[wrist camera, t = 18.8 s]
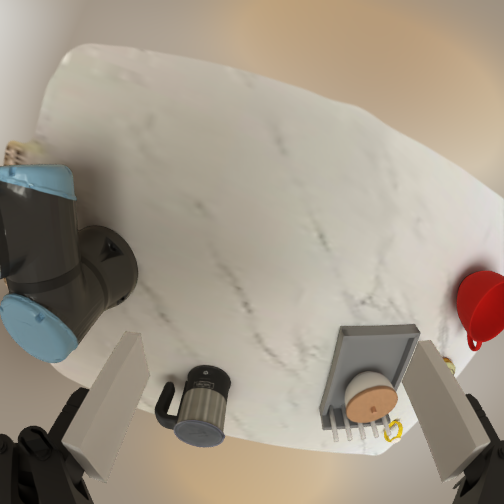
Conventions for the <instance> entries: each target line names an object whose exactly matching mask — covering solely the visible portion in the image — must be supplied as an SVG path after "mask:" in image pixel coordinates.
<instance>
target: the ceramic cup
mask: <svg viewBox="0 0 504 504" xmlns="http://www.w3.org/2000/svg"><path fill="white" fill-rule="evenodd" d="M457 311H458V315H459V318H460V320H461V322H462V324H463V326H464V328H465V330H466V331H467V340H468V345H469V347H470V349H471V350H472V351H477V350H479V349H480V347H481V345H482V342H486V341H489V340H491V339H492V338H494V337H496V336H497V335H498V334H499V333H500V332H501V331H502V330H503V329H504V276H502V275H500V274H498V273H495V272H493V271H479V272H475V273H473V274H471V275H469V276H467V277H466V278H465V279H464V280H463V281H462V283H461V284H460V286H459V289H458V295H457ZM473 340H474V341H476V342H477V345H476V347H475V346H474V343H473Z"/></svg>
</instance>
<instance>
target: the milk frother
mask: <svg viewBox="0 0 504 504" xmlns="http://www.w3.org/2000/svg"><path fill="white" fill-rule="evenodd" d="M230 386H231V381H230V378H229V376H228V375H227V374H226V373H225V372H224V371H222V370H221V369H218V368H216V367H212V366H199V367H196V368H194V369H192V370H191V371H190V372H189V374H188V381H186V383H185V387H184V391H183V395H182V398H181V402H180V406H179V409H178V414H177V416H174V415H168V414H167V412H168V409H169V406H170V404H171V401H172V398H173V396H174V393H175V387H174V384H173V383H172V382H167V383H166V384H165V386H164V389H163V391H162V393H161V395H160V397H159V400H158V402H157V404H156V406H155V415H156V418H157V420H158V422H159V423H160V424H161V425H162V426H163V427H165V428H168V429H172V430H174V433H175V435H176V436H177V437H178V438H179V439H180V440H182V441H183V442H185V443H187V444H190V445H193V446H197V447H213V446H217V445H219V444H221V443H222V442H223V440H224V438H225V435H224V433H223V429H224V421H225V413H226V405H227V397H228V391H229V388H230Z"/></svg>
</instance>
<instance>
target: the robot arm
mask: <svg viewBox="0 0 504 504" xmlns="http://www.w3.org/2000/svg"><path fill="white" fill-rule="evenodd" d="M75 201H77V198H76V196H75V193H74V183H73V174H72V172H71V170H70V169H69V168H68V167H67V166H65V165H57V164H35V165H9V166H0V279H2V278H5V277H6V281H7V285H8V289H9V294H6V295H5V296H4V297H3V300H2V301H1V306H0V315H1V319H2V321H3V323H4V326H5V328H6V329H7V331H8V332H9V334H10V335H11V336H12V338H13V339H14V340H15V341H16V343H18V345H19V346H21V347H22V348H23V349H24V350H25V351H26V352H28V353H29V354H30V355H32V356H34V357H35V358H37V359H40V360H42V361H45V362H48V363H58V362H61V361H63V360H64V359H66V358H67V356H68V355H69V354H70V353H71V352H72V351H73V350H75V349H76V348H77V346H78V344H79V343H80V342H81V340H82V339H83V338H84V336H85V335H86V334H87V332H88V331H89V330H90V328H91V327H92V326H93V324H94V323H95V322H96V320H97V319H98V318H99V317H100V315H101V314H102V313H103V311H105V310H108V309H110V308H112V307H114V306H117V305H119V304H121V303H122V302H124V301H125V300H126V299H127V298H128V296H129V295H130V294H131V293H132V291H133V290H134V288H135V286H136V283H137V278H138V269H137V263H136V260H135V257H134V254H133V252H132V250H131V249H130V247H129V246H128V244H127V243H126V242H125V241H124V239H123V238H122V237H120V236H119V235H118V234H117V233H115V232H114V231H112V230H110V229H108V228H105V227H102V226H89V227H86V228H84V229H82V230H80V231H79V232H78V227H77V216H76V203H75ZM149 377H150V373H149V369H148V365H147V361H146V357H145V352H144V348H143V343H142V338H141V334H140V333H134V332H127V331H126V332H125V333H124V335H123V336H122V338H121V340H120V341H119V343H118V344H117V346H116V348H115V349H114V351H113V352H112V354H111V356H110V357H109V359H108V360H107V362H106V364H105V365H104V367H103V369H102V370H101V372H100V374H99V375H98V377H97V379H96V380H95V382H94V384H93V385H92V387H91V389H90V390H89V389H86V388H82V387H81V388H79V389H78V390H76V391H75V392H74V393H73V394H72V395H71V397H70V398H69V399H68V401H67V403H66V405H65V406H64V408H63V409H62V412H61V413H60V415H59V416H58V418H57V419H56V421H55V423H54V425H53V426H52V428H51V430H50V431H49V433H48V434H47V433H46V431H45V430H43V429H42V428H41V427H38V426H29V427H27V428H24V429H23V430H22V431H21V432H20V434H19V436H18V443H14V442H13V441H12V440H11V438H10V437H8V436H7V435H5V434H0V504H94V503H93V501H92V498H91V496H90V494H89V492H88V489H87V487H86V484H85V482H84V480H83V478H82V476H83V473H84V471H85V472H86V474H87V475H88V476H89V477H90V478H93V479H96V480H99V481H102V482H104V483H107V481H108V478H109V475H110V473H111V470H112V467H113V465H114V462H115V460H116V457H117V454H118V452H119V449H120V447H121V444H122V442H123V439H124V437H125V434H126V432H127V429H128V427H129V424H130V422H131V419H132V417H133V415H134V412H135V410H136V407H137V405H138V403H139V400H140V398H141V396H142V393H143V391H144V388H145V386H146V384H147V381H148V379H149ZM402 383H403V386H404V388H405V390H406V392H407V395H408V397H409V399H410V401H411V404H412V406H413V408H414V411H415V413H416V416H417V418H418V420H419V423H420V425H421V428H422V430H423V433H424V435H425V438H426V440H427V443H428V445H429V448H430V451H431V453H432V456H433V459H434V461H435V464H436V467H437V470H438V472H439V475H440V478H441V481H442V483H443V482H446V481H449V480H452V479H454V478H456V477H457V476H458V475H459V474H461V473H462V472H463V471H464V474H465V476H464V477H463V478H462V479H461V480H460V481H459V482H458V483H457V484H455V486H454V487H453V489H455V488H456V487H457V486H459V485H460V486H459V489H458V491H457V494H456V496H455V499H454V501H453V504H504V440H502V441H500V439H499V438H498V436H497V434H496V432H495V430H494V428H493V426H492V425H491V423H490V421H489V419H488V417H486V414H485V412H484V411H483V410H482V407H481V405H480V404H479V402H478V400H477V399H476V398H474V397H473V396H472V395H471V394H466V395H465V394H464V392H463V390H462V389H461V387H460V385H459V384H458V382H457V380H456V379H455V377H454V375H453V374H452V372H451V371H450V369H449V367H448V366H447V364H446V363H445V361H444V360H443V358H442V356H441V355H440V353H439V352H438V350H437V349H436V347H435V346H434V344H433V343H432V341H431V340H427V341H418V344H417V346H416V349H415V351H414V354H413V356H412V359H411V361H410V364H409V366H408V368H407V371H406V373H405V375H404V377H403V380H402Z"/></svg>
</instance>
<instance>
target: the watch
mask: <svg viewBox="0 0 504 504" xmlns="http://www.w3.org/2000/svg"><path fill="white" fill-rule="evenodd" d="M395 423H397V424H398V427H399V430H398V434H397V436H396V437H393V438H392V439H391V440H390V439H389V437H388V436H387V434H386V431H384V437H385V440H386V441H388V442H391V443H397V442H399V441H400V440H401V435H402V431H403V427H402V424H401V423H400V422H398V421H392V422H391V423H390V424H389V428H390V427H392V426H393V425H394V424H395Z"/></svg>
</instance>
